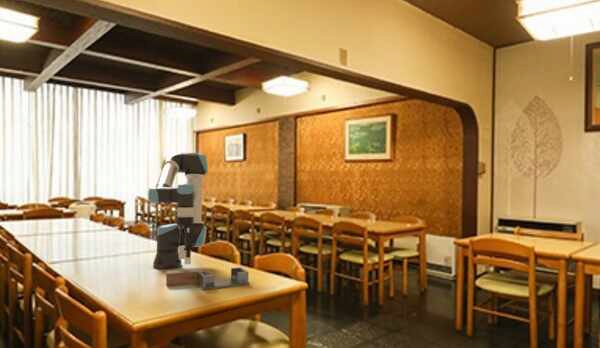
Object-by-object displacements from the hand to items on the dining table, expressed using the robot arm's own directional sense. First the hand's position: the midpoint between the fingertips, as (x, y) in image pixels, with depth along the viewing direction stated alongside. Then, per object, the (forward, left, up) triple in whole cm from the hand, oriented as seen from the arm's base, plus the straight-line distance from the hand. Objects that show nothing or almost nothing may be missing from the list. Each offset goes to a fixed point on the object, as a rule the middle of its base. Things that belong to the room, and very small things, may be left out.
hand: (184, 261), depth 187 cm
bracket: (+9, +16, -10) cm, 21 cm away
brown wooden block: (0, 0, -11) cm, 11 cm away
